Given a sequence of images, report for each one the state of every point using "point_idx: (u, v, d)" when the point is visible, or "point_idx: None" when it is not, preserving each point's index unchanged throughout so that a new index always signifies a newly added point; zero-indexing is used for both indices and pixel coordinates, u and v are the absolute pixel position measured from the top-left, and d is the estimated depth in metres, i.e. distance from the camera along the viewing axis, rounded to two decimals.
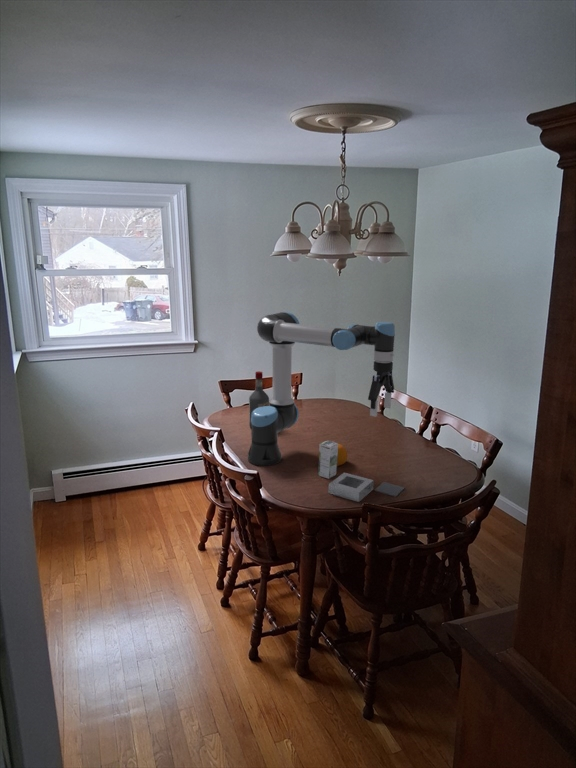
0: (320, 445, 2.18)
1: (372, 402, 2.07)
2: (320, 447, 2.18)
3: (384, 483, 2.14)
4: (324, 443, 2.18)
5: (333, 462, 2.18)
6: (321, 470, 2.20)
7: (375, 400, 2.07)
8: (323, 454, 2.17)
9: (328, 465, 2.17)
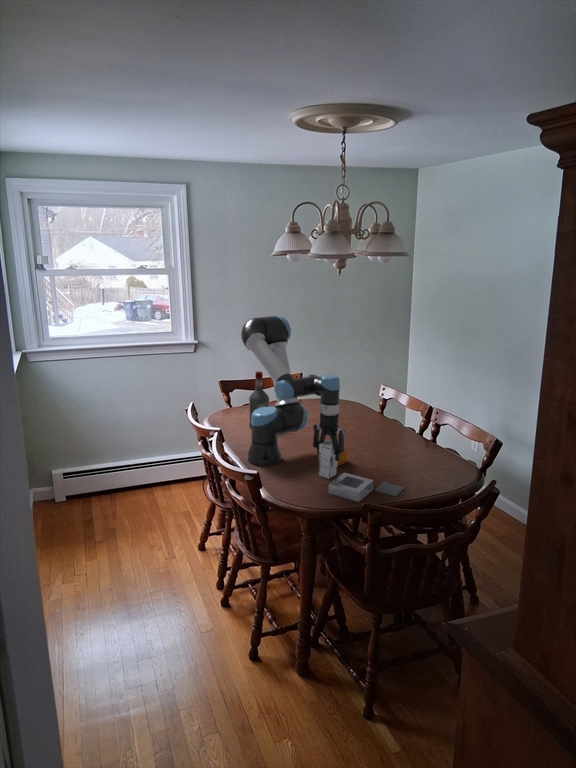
0: (320, 445, 2.18)
1: None
2: (320, 447, 2.18)
3: (384, 483, 2.14)
4: (324, 443, 2.18)
5: None
6: (321, 470, 2.20)
7: None
8: (323, 454, 2.17)
9: (328, 465, 2.17)
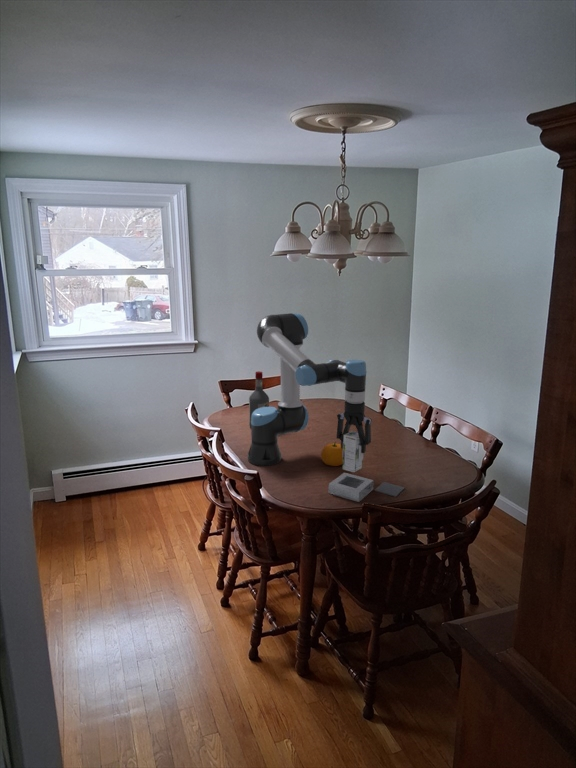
0: (344, 436, 2.01)
1: None
2: (344, 438, 2.01)
3: (384, 483, 2.14)
4: (349, 434, 2.01)
5: None
6: (346, 464, 2.03)
7: None
8: (348, 446, 2.00)
9: (353, 458, 2.00)
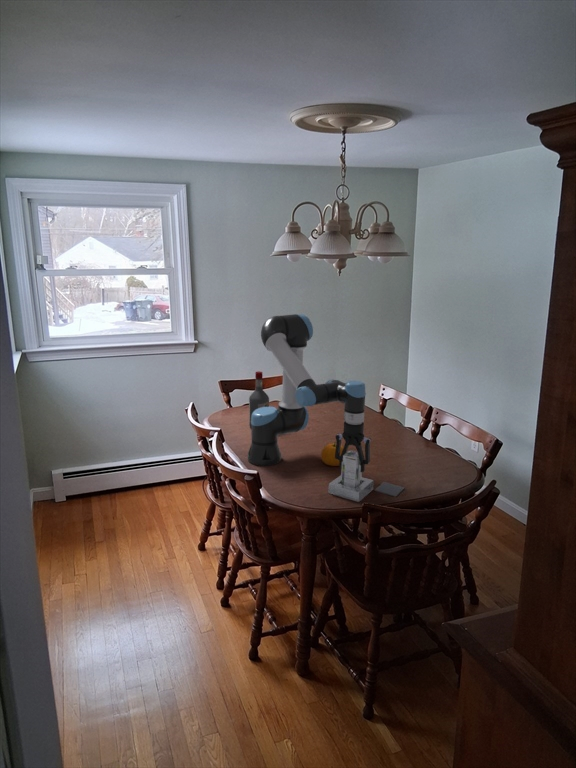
0: (344, 456, 2.02)
1: None
2: (344, 459, 2.02)
3: (384, 483, 2.14)
4: (348, 454, 2.03)
5: None
6: (345, 483, 2.05)
7: (339, 460, 2.05)
8: (348, 466, 2.02)
9: (353, 477, 2.02)
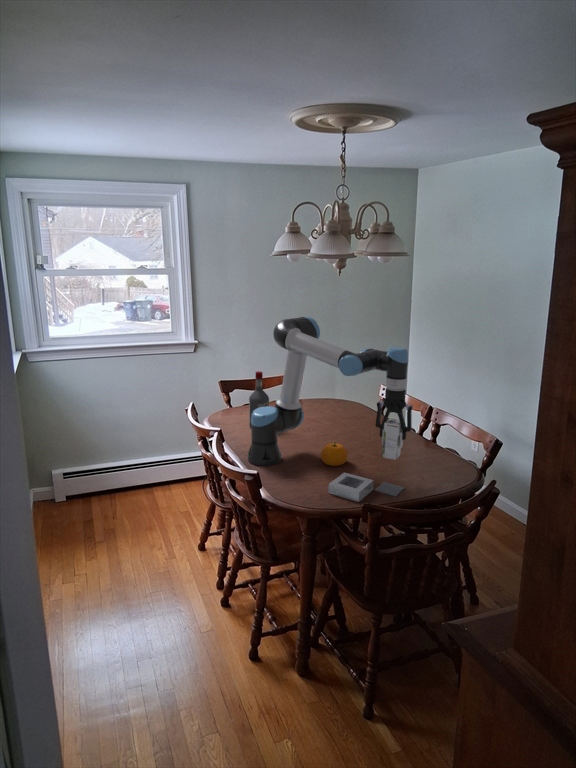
0: (385, 424, 2.01)
1: None
2: (385, 426, 2.01)
3: (384, 483, 2.14)
4: (389, 421, 2.01)
5: (399, 441, 2.02)
6: (386, 451, 2.03)
7: (380, 428, 2.04)
8: (389, 433, 2.01)
9: (395, 445, 2.01)
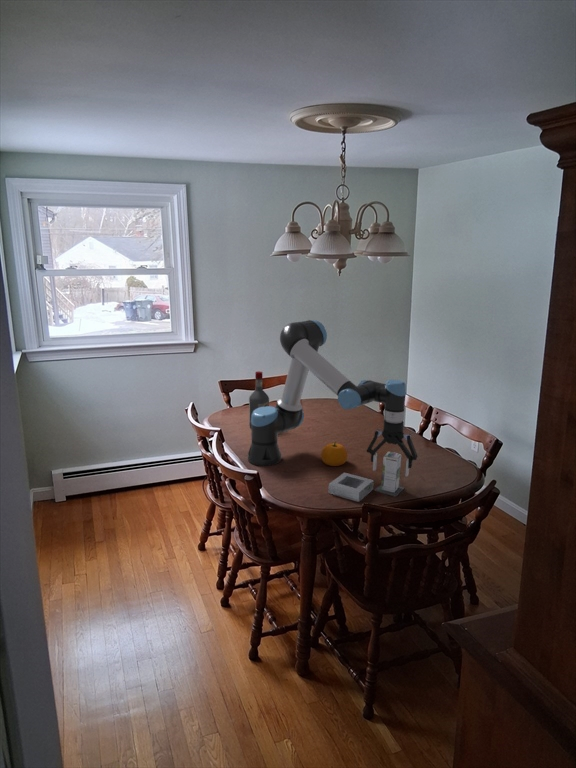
0: (384, 458, 2.04)
1: None
2: (384, 460, 2.04)
3: None
4: (388, 455, 2.05)
5: (398, 474, 2.06)
6: (385, 484, 2.06)
7: (371, 453, 2.07)
8: (388, 467, 2.04)
9: (394, 478, 2.04)
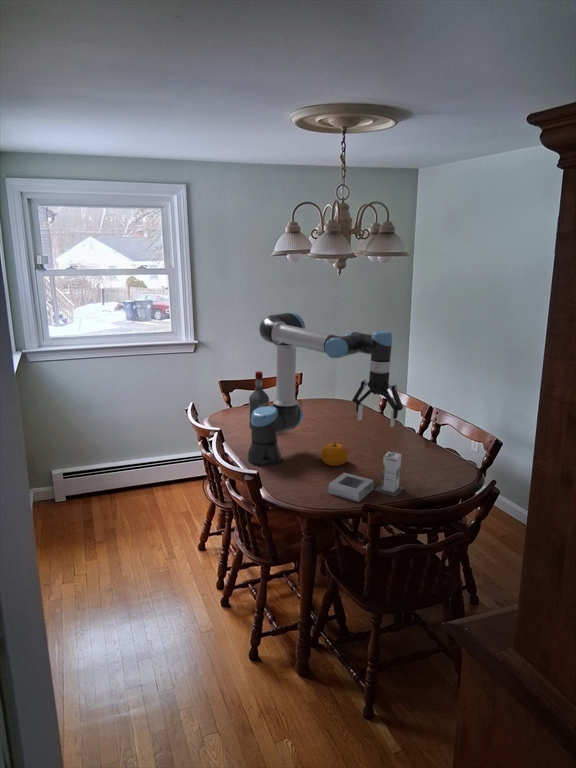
0: (384, 458, 2.04)
1: None
2: (384, 460, 2.04)
3: None
4: (388, 455, 2.05)
5: (398, 474, 2.06)
6: (385, 484, 2.06)
7: (356, 403, 2.11)
8: (388, 467, 2.04)
9: (394, 478, 2.04)
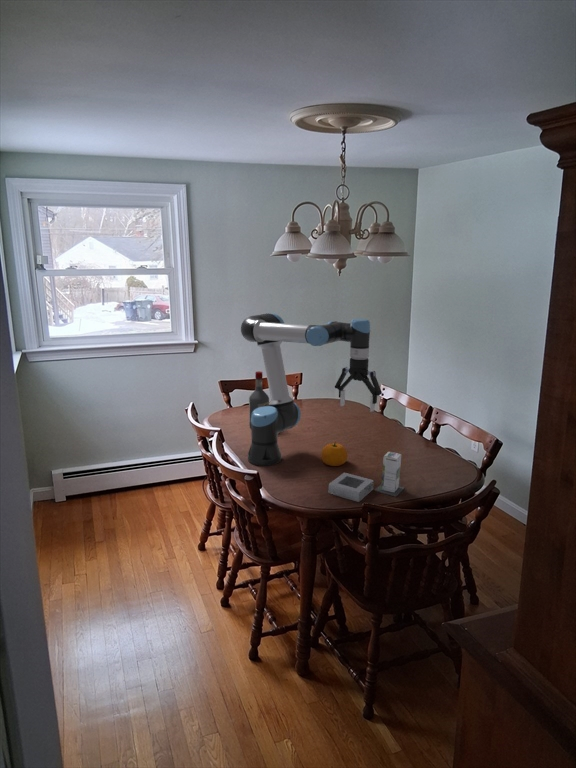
0: (384, 458, 2.04)
1: None
2: (384, 460, 2.04)
3: None
4: (388, 455, 2.05)
5: (398, 474, 2.06)
6: (385, 484, 2.06)
7: (338, 389, 2.19)
8: (388, 467, 2.04)
9: (394, 478, 2.04)
